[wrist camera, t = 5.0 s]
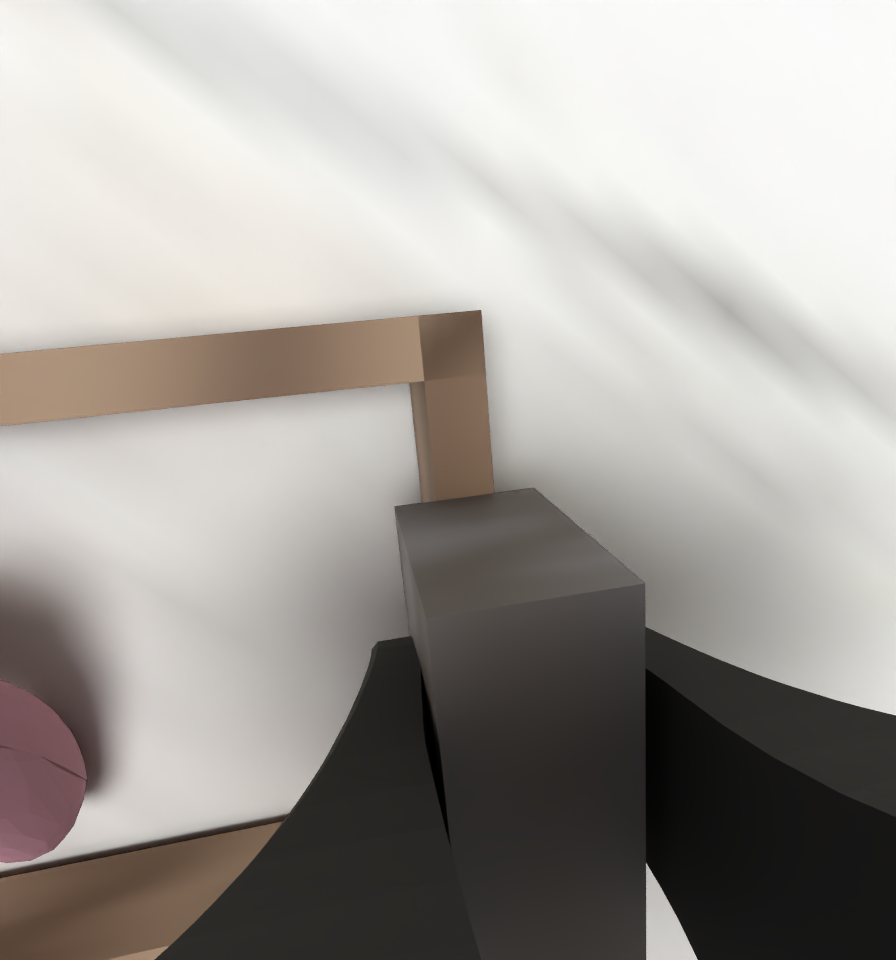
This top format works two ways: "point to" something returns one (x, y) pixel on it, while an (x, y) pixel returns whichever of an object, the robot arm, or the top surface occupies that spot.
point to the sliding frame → (441, 651)
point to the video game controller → (36, 776)
